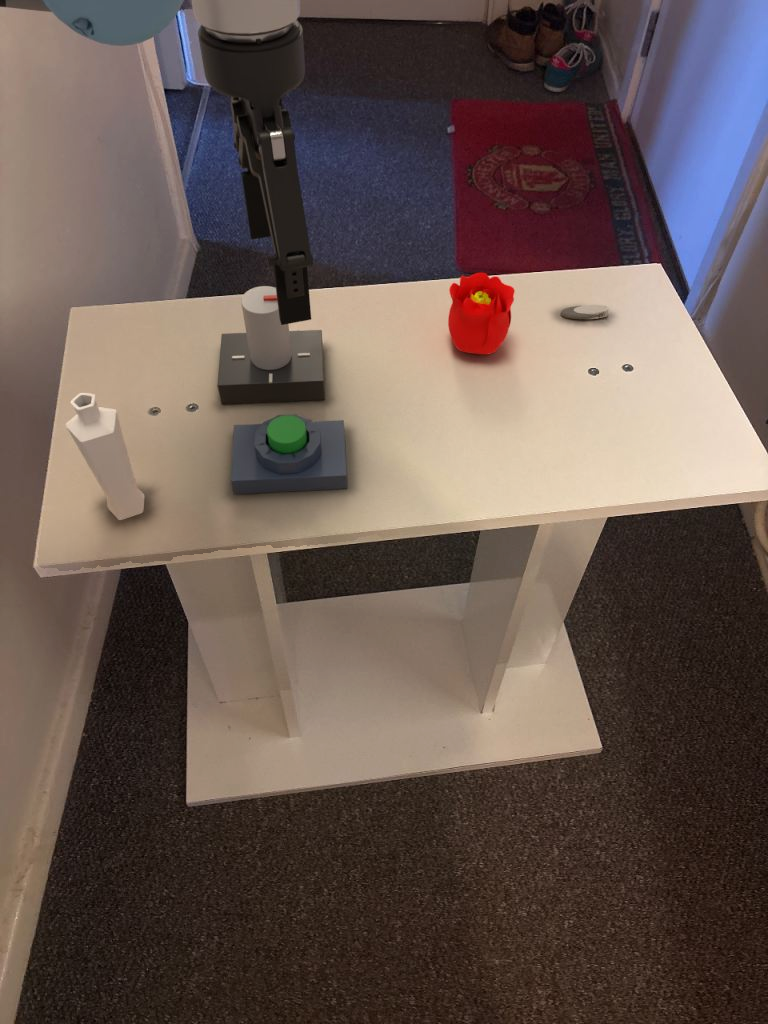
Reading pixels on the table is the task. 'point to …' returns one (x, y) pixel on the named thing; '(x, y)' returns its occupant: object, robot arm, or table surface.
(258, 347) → the dial
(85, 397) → the perfume bottle
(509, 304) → the flower
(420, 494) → the table surface
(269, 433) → the button
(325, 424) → the button block
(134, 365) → the table surface
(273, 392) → the dial panel
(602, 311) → the oval pebble
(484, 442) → the table surface
